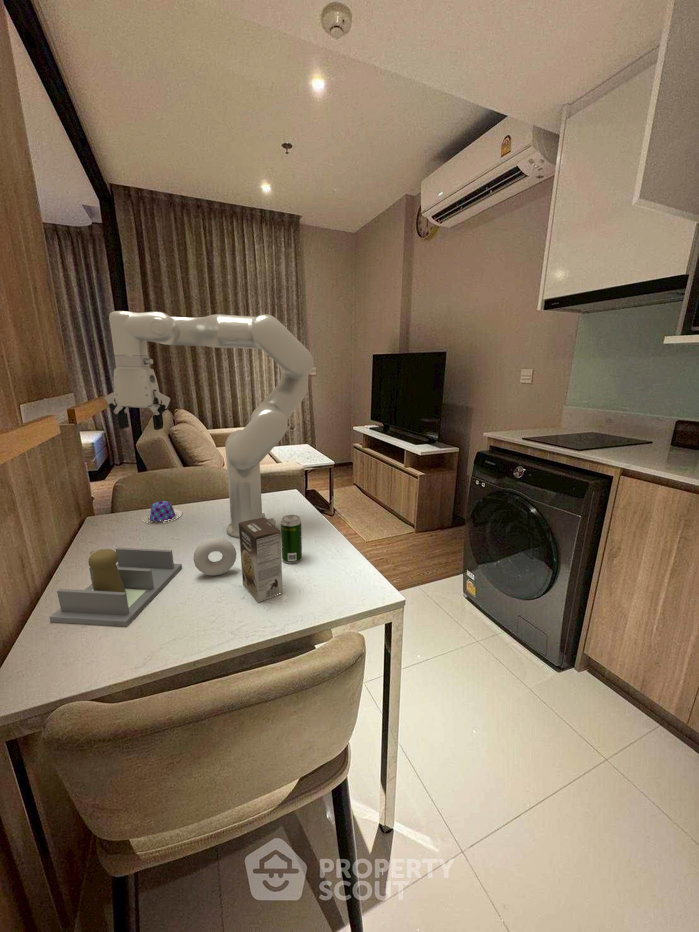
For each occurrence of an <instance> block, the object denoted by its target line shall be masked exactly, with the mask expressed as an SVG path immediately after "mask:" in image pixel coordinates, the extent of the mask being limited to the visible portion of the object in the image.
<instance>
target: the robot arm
mask: <svg viewBox="0 0 699 932" xmlns="http://www.w3.org/2000/svg"><path fill="white" fill-rule="evenodd" d="M108 317H109V318H108V319H109V326H110V332H111V339H112V347H113V354H114V360H115V361H114V362H115V367H116V368H114V371H113V390H114V391H113V392H111V393H109V394H107V395H105V396H104V400H105V402H107V404H108V407H109V408H110V409H111V410H112V411H113V413H114V414H115V415H116V419H117V424H118V428H119V430H123V429H127V428H129V427H130V423H129V418H128V412H126V410H127V409H128V408H137V409H138V408H141V409H143V408H144V409H145V408H148V409H149V410H150V411H151V412H152V413H153V414H152V423H153V430H155V431H158V430H162V429H163V428H164V417H163V415H164V414H165V411H166V410H167V409H168V408H169V407H168V406H169V405H170V402H171V397H169V396H167V395H165V394H163V393H161V392H160V389H159V384H158V380H157V376H156V373H155V371H154V368H150V366H151V365H153V364H154V360H153V359H152V358H150V356H149V353H148V345H147V342H151V343H158V344H162V345H168V346H195V347H196V346H197V347H199V346H200V347H209V348H217V349H218V348H219V349H220V348H222V349H223V348H224V349H226V348H227V349H249V350H250V349H251V350H262V351H264V353H266V354H267V355H268V357H270V358H271V359H272V361H274V362H275V363H276V364H277V365H278V367H279V370H280V373H281V374H280V380H279V381H278V384H277V385H276V386H275V387H274V389H273V390H272V391H271V392H270V393H269V395H268V396H266V398H265V399H263V401H262V402H261V403H260V404H259V405H258V406H257V407H256V408H255V409H254V410H253V411H252V413H251V416H250V420H249V422H248V423H247V424H246V425H245V427H244V428H243V429H237V430H235V431H233V432H231V433H230V434H229V435H228V436H227V438H226V439H225V440H226V441H225V445H224V447H225V448H224V449H225V456H226V467H227V468H226V469H227V481H228V483H227V484H228V497H229V498H228V499H229V511H230V523H229V524H228V525H227V526H226V533H227V534H228V535H229V536H232V537H234V538H239V539H240V536H239V524H238V523H240V522H244V521H248V520H252V519H258V518H262V517H264V518H265V519H267V520H268V521H269V522H270V523H272V524H273V525H274V526H276V525H277V522H276V520H275V518H273V517H267V516H266V513H265V512H263V505H262V503H263V502H262V487H261V486H262V485H261V479H262V478H261V465H260V463H261V462H262V461H263V459H264V458H266V457H267V455H268V454H269V453H270V452H271V451H272V450H273V449H274V448H275V447H276V446H277V445H278V443H279V442H280V440H282V439H283V437H284V436H285V434H286V432H287V429H288V418H289V417H290V416H291V415H292V414H293V413H294V411H295V410H296V409H297V408H298V406H299V405H300V404H301V403H302V401H303V400H304V398H305V396H306V394H307V392H308V386H309V375H310V374H311V373H312V372H313V370H314V369H313V368H314V358H313V356H312V354H311V352H310V351H309V350H308V348H306V346H305V345H304V344H302V342H301V341H300V340H298V338H296V337H295V335H293V333H292V332H291V331H290V330H289V329H288V328H286V327H285V326H284V324H283V323H282V322H281V321H279V320H278V319H277V318H276V317H275V316H273V315H270V314H267V313H265V314H260V315H257V316H251V315H250V316H249V315H246V316H245V315H231V314H220V313H218V314H210V315H207V316H202V317H185V316H184V317H183V316H182V317H181V316H170V315H168V314H167V313H165V312H163V311H146V312H135V311H128V310H127V311H126V310H115V311H111V312H110V313H109V316H108Z"/></svg>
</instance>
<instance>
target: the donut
mask: <svg viewBox="0 0 699 932" xmlns="http://www.w3.org/2000/svg"><path fill="white" fill-rule="evenodd" d="M214 552H219V553H220V554H221V555H222V556H221V557H222V558H220V560H216V561H213V560H211V559H210V558H209V556H210V554H211V553H214ZM237 554H238V553H237V549H236V547H235V546H234V544H233V542H231V541H230V540H228V539H226V538H224V537H210V538H207V539H205V540H203V541H202V542H200V544H198V546H197V547H196V549H195V550H194V553H193V563H194V565H195V567H196V569H197V570H198V571H199V572H201V573H202V574H204V575H208V576H219V575H223V574H225V573H226V572H228V571H230V570H231V569H232V567H234V564H235V562H236V559H237Z"/></svg>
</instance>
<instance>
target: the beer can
mask: <svg viewBox="0 0 699 932" xmlns="http://www.w3.org/2000/svg"><path fill="white" fill-rule="evenodd" d="M280 530H281V556H282V562H284V564H287V563H289V564H288V565H293V564H292V563H295V564H298V563H299V562H301V560H302V558H303V544H302V543H303V541H302V539H303V537H302V535H303V534H302V520H301V517H300V516H299V515H297V514H287V515H284V516H282V517H281V521H280ZM297 562H298V563H297Z"/></svg>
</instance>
